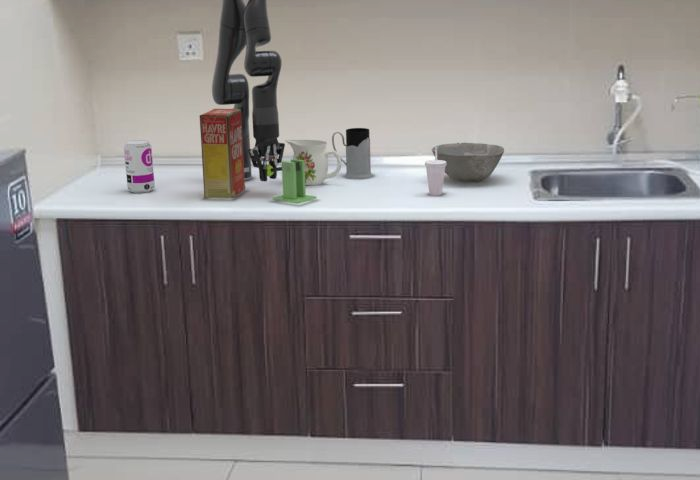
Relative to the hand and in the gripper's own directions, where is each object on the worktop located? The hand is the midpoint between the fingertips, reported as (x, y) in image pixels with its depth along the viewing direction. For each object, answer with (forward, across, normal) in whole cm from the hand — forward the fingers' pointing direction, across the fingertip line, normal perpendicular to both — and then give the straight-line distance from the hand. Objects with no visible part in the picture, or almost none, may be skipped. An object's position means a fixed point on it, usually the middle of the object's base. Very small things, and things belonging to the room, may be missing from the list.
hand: (268, 179), depth 290 cm
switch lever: (-2, 0, +5) cm, 6 cm away
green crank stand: (+5, 0, +10) cm, 11 cm away
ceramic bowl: (+5, -51, +38) cm, 64 cm away
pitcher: (+5, -20, +1) cm, 21 cm away
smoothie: (+5, -29, +40) cm, 50 cm away
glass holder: (+6, -38, +2) cm, 38 cm away
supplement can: (+6, +14, -40) cm, 43 cm away
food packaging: (+6, +5, -13) cm, 15 cm away
